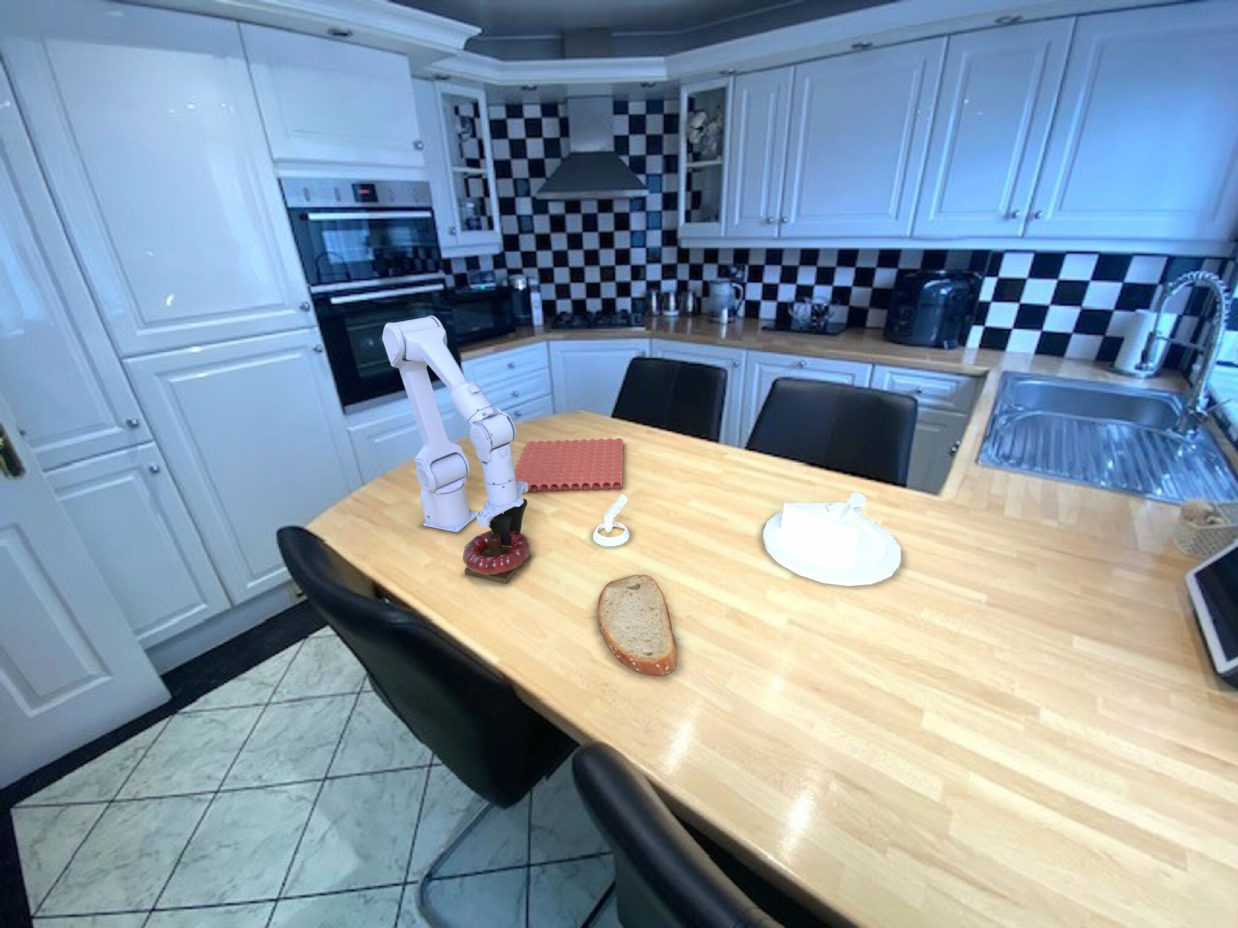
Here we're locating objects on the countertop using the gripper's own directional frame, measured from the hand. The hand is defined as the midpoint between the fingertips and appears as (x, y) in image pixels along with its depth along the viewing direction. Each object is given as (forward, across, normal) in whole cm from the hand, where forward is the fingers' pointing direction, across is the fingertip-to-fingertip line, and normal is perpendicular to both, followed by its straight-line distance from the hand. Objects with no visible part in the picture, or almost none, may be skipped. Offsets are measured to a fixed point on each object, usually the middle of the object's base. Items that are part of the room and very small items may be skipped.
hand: (509, 539), depth 100 cm
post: (+3, -5, 0) cm, 6 cm away
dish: (+3, +21, -59) cm, 63 cm away
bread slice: (+3, -11, -31) cm, 33 cm away
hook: (+3, +11, -17) cm, 21 cm away
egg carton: (+3, +39, +6) cm, 40 cm away
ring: (0, -4, 0) cm, 5 cm away
